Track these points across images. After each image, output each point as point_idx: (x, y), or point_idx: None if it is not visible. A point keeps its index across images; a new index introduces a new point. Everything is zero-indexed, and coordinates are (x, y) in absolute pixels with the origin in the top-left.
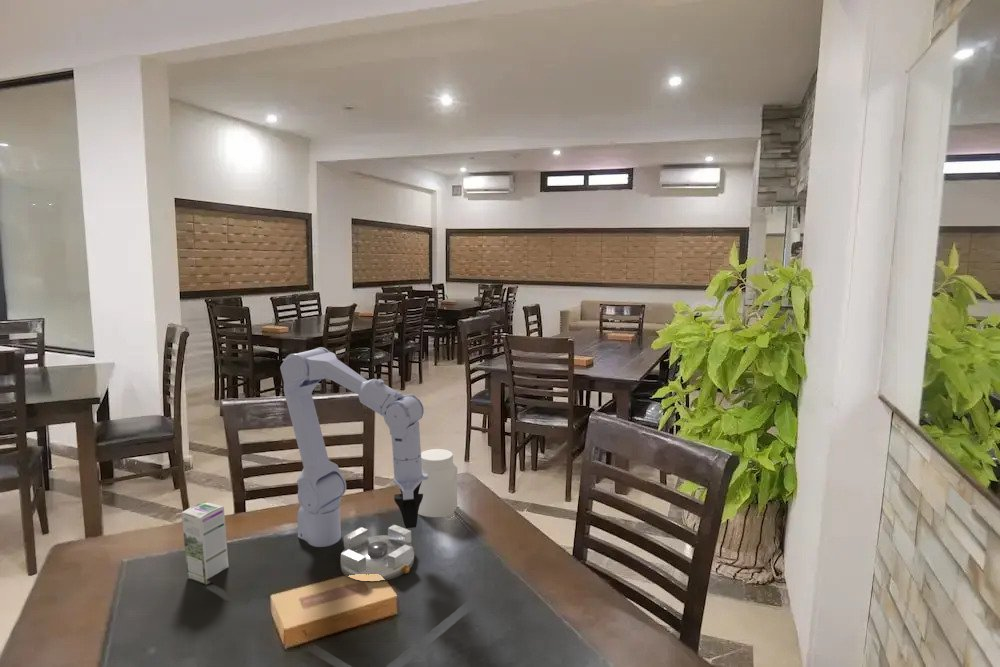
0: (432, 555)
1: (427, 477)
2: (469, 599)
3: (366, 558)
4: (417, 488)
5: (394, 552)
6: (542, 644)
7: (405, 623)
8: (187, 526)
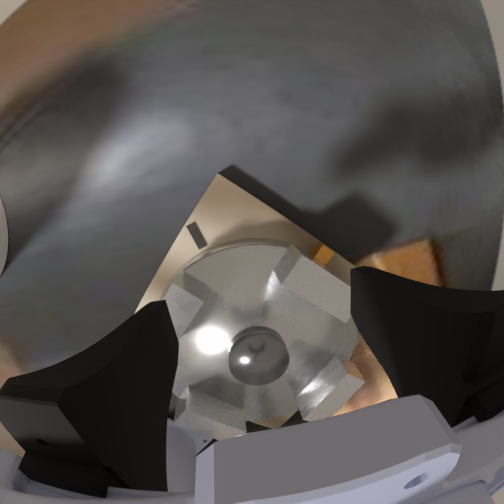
0: (179, 188)
1: (440, 425)
2: (389, 80)
3: (287, 368)
4: (115, 376)
5: (334, 307)
6: (467, 6)
7: (452, 217)
8: None
